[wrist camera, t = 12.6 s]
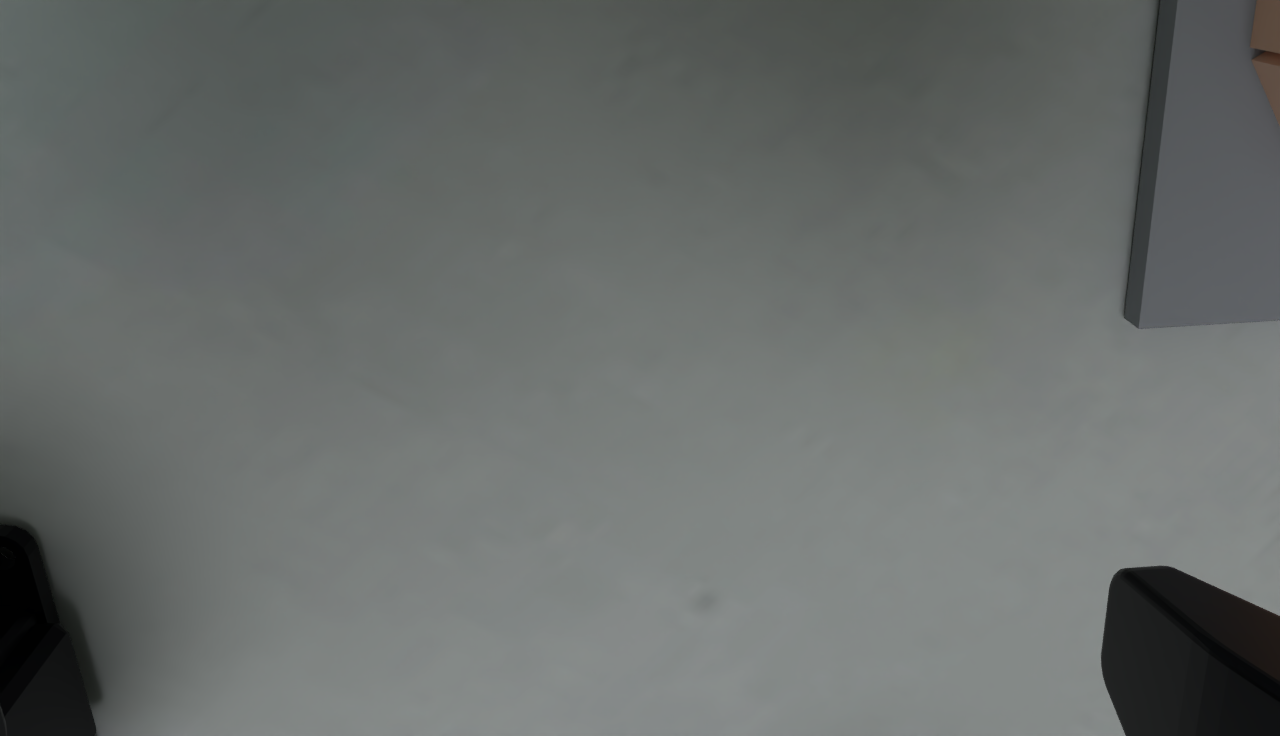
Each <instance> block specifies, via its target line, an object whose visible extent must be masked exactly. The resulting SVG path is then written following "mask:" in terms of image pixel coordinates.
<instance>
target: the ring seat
mask: <svg viewBox="0 0 1280 736" xmlns="http://www.w3.org/2000/svg"><path fill="white" fill-rule="evenodd" d="M1124 318H1125V319H1126V320H1128V321H1129V322H1130V323H1132V324H1133V325H1134V326H1135V327H1137V328H1138V329H1144V328H1161V327H1177V326H1194V325H1210V324H1227V323H1243V322H1260V321H1276V320H1280V0H1160V8H1159V17H1158V26H1157V35H1156V43H1155V52H1154V61H1153V70H1152V79H1151V87H1150V96H1149V105H1148V114H1147V123H1146V131H1145V140H1144V149H1143V158H1142V166H1141V175H1140V184H1139V193H1138V202H1137V210H1136V219H1135V228H1134V237H1133V246H1132V254H1131V263H1130V272H1129V281H1128V289H1127V298H1126V307H1125V316H1124Z"/></svg>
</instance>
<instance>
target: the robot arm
mask: <svg viewBox="0 0 1280 736" xmlns="http://www.w3.org/2000/svg"><path fill="white" fill-rule="evenodd" d="M0 547H4V548H6V549H8V550H10V551H11V552H12V553H13V555H14V556H15V559H10V558H7V557H5V556H4V555H2V554H1V552H0V736H94V735H95V733H96V726H95V723H94V719H93V716H92V712H91V709H90V705H89V702H88V698H87V695H86V691H85V688H84V684H83V681H82V677H81V674H80V670H79V667H78V663H77V659H76V656H75V652H74V649H73V645H72V642H71V638H70V635H69V633H68V632H67V631H66V630H65V628H64V627H63V626H62V625H61V624H60V622H59V618H58V615H57V611H56V608H55V604H54V601H53V597H52V594H51V590H50V587H49V583H48V580H47V576H46V573H45V569H44V566H43V562H42V559H41V555H40V552H39V548H38V545H37V543H36V542H35V540H34V538H33V537H32V536H31V535H30V534H29V533H28V532H27V531H26V530H24V529H21V528H19V527H17V526H12V525H0ZM1101 666H1102V673H1103V678H1104V682H1105V685H1106V688H1107V690H1108V693H1109V695H1110V698H1111V700H1112V703H1113V705H1114V708H1115V710H1116V713H1117V715H1118V718H1119V720H1120V723H1121V725H1122V727H1123V730H1124V732H1125V735H1126V736H1280V616H1278V615H1276V614H1274V613H1272V612H1270V611H1267V610H1265V609H1263V608H1261V607H1259V606H1256V605H1254V604H1252V603H1250V602H1248V601H1245V600H1243V599H1241V598H1239V597H1237V596H1234V595H1232V594H1230V593H1228V592H1226V591H1223V590H1221V589H1219V588H1217V587H1215V586H1212V585H1210V584H1208V583H1206V582H1204V581H1201V580H1199V579H1197V578H1195V577H1193V576H1190V575H1188V574H1186V573H1184V572H1182V571H1179V570H1177V569H1175V568H1172V567H1169V566H1150V567H1135V568H1124V569H1120V570H1119V571H1118V572H1117V573H1116V574H1115V575H1114V576H1113V578H1112V581H1111V583H1110V588H1109V595H1108V603H1107V611H1106V619H1105V627H1104V636H1103V644H1102V652H1101Z"/></svg>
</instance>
